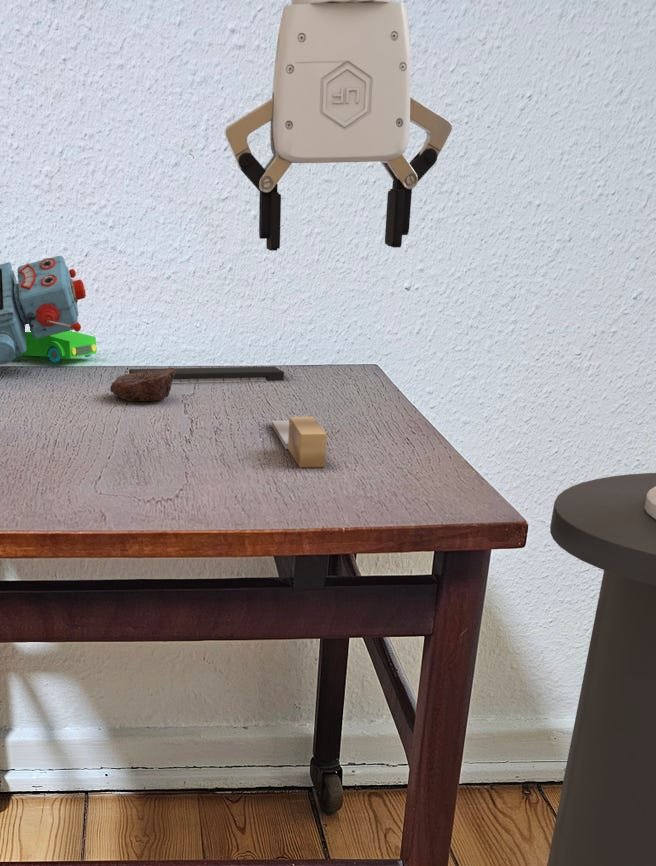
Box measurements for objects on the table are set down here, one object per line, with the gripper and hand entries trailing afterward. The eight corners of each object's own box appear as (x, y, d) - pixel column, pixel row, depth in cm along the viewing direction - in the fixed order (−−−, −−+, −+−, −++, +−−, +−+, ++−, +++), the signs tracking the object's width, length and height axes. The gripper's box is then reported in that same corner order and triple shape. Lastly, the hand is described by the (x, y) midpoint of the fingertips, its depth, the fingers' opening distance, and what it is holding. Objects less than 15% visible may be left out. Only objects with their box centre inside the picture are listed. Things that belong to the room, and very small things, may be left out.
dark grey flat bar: (283, 383, 137) (274, 378, 142) (284, 371, 137) (275, 366, 141) (133, 386, 135) (129, 380, 139) (133, 374, 134) (128, 368, 139)
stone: (162, 407, 123) (162, 375, 121) (98, 403, 125) (96, 371, 123) (183, 396, 128) (183, 365, 127) (121, 393, 130) (120, 362, 129)
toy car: (-3, 358, 149) (-8, 300, 146) (30, 352, 154) (27, 296, 151) (68, 364, 144) (65, 304, 141) (100, 357, 149) (98, 299, 146)
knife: (327, 467, 101) (329, 433, 100) (296, 467, 101) (298, 433, 100) (297, 425, 116) (299, 395, 114) (271, 425, 116) (272, 395, 114)
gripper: (229, -22, 82) (229, 253, 91) (476, -26, 83) (452, 248, 91) (220, -9, 89) (220, 248, 97) (449, -13, 89) (429, 242, 98)
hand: (332, 247), depth 94 cm, fingers open, 9 cm apart
